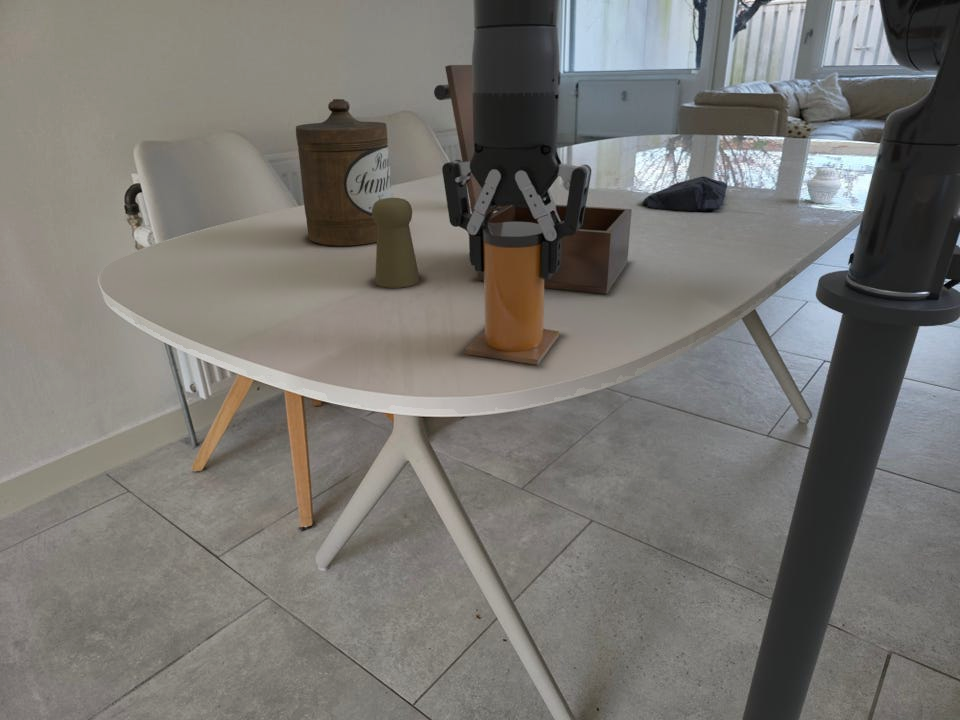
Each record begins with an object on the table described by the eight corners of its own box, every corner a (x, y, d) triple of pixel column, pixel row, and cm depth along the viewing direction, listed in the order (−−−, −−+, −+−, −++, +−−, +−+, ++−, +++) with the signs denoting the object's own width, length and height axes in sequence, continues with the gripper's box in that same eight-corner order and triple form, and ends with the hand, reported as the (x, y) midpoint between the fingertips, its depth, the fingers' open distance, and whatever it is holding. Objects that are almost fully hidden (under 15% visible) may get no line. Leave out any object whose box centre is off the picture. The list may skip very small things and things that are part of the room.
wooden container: (379, 247, 100) (366, 100, 91) (294, 245, 103) (272, 101, 93) (405, 226, 113) (396, 96, 104) (329, 224, 116) (314, 97, 106)
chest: (627, 263, 90) (631, 208, 87) (606, 294, 78) (611, 232, 74) (512, 252, 96) (513, 201, 93) (477, 280, 84) (475, 223, 81)
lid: (494, 64, 86) (462, 72, 88) (450, 64, 74) (414, 73, 76) (515, 198, 92) (485, 202, 94) (478, 219, 80) (444, 223, 82)
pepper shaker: (416, 272, 88) (411, 193, 83) (422, 285, 82) (417, 201, 78) (373, 276, 86) (366, 196, 82) (376, 289, 81) (368, 204, 76)
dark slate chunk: (737, 194, 135) (740, 172, 133) (717, 214, 118) (720, 188, 116) (666, 189, 142) (669, 168, 140) (638, 207, 125) (640, 183, 123)
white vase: (819, 198, 130) (826, 163, 127) (844, 203, 125) (852, 167, 122) (796, 200, 128) (803, 165, 125) (820, 206, 123) (828, 169, 120)
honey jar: (551, 332, 65) (554, 223, 61) (533, 355, 60) (535, 239, 55) (496, 325, 68) (495, 219, 63) (474, 346, 62) (471, 233, 58)
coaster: (559, 336, 66) (559, 331, 66) (537, 365, 60) (537, 359, 59) (492, 327, 69) (492, 322, 68) (465, 354, 62) (465, 348, 62)
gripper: (421, 89, 53) (431, 277, 60) (587, 88, 48) (576, 293, 55) (457, 86, 59) (462, 257, 67) (606, 85, 54) (595, 269, 62)
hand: (514, 272), depth 61 cm, fingers closed on honey jar, 6 cm apart
